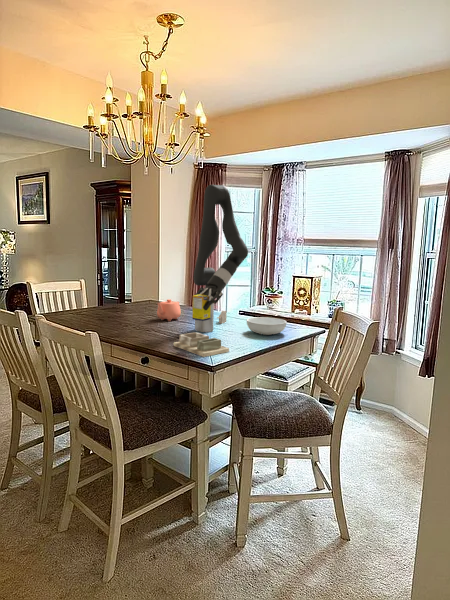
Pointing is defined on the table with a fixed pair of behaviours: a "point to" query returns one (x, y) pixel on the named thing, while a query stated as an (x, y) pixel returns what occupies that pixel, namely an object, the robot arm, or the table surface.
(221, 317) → the architectural model
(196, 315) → the supplement box
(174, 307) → the teapot
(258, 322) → the serving bowl
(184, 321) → the table surface
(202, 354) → the beige compartment tray
